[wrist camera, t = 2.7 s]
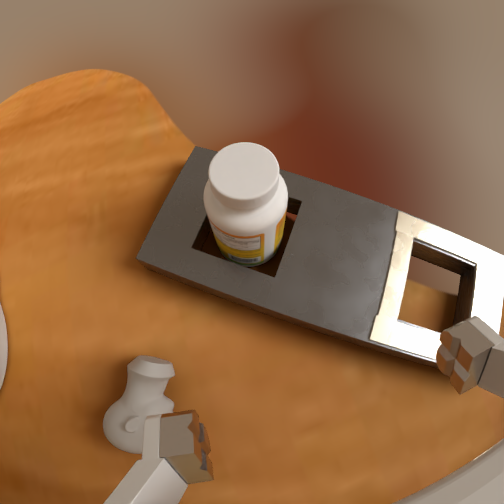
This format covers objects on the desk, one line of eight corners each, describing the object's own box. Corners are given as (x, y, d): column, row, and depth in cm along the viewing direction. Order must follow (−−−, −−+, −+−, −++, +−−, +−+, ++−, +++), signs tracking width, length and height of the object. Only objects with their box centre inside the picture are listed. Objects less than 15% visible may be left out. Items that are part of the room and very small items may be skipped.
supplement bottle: (257, 196, 28) (255, 119, 19) (295, 244, 26) (312, 178, 17) (204, 229, 27) (178, 160, 18) (240, 281, 26) (229, 230, 16)
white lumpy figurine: (159, 453, 22) (101, 426, 21) (197, 371, 24) (138, 343, 24) (158, 475, 18) (90, 445, 17) (203, 381, 20) (132, 347, 19)
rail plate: (146, 268, 26) (134, 257, 24) (199, 162, 30) (195, 144, 27) (474, 378, 22) (491, 377, 19) (491, 265, 25) (506, 256, 23)
